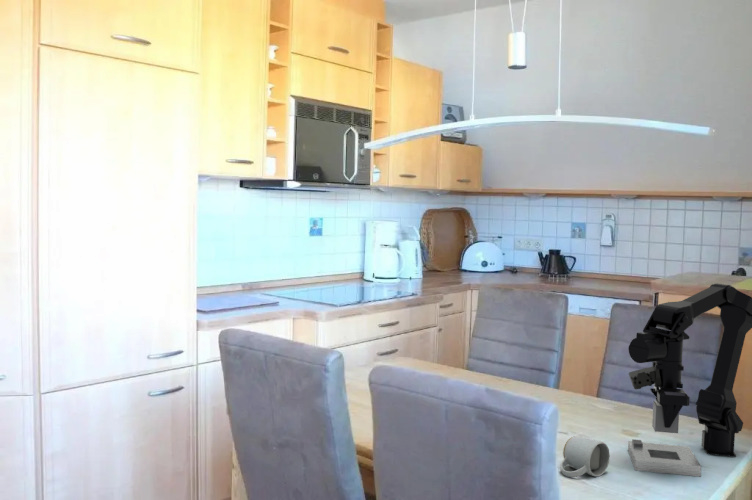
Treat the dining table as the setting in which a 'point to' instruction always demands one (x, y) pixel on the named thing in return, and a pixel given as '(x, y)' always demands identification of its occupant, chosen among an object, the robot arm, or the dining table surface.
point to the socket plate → (663, 458)
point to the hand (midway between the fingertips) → (665, 424)
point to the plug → (662, 420)
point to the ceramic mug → (585, 457)
